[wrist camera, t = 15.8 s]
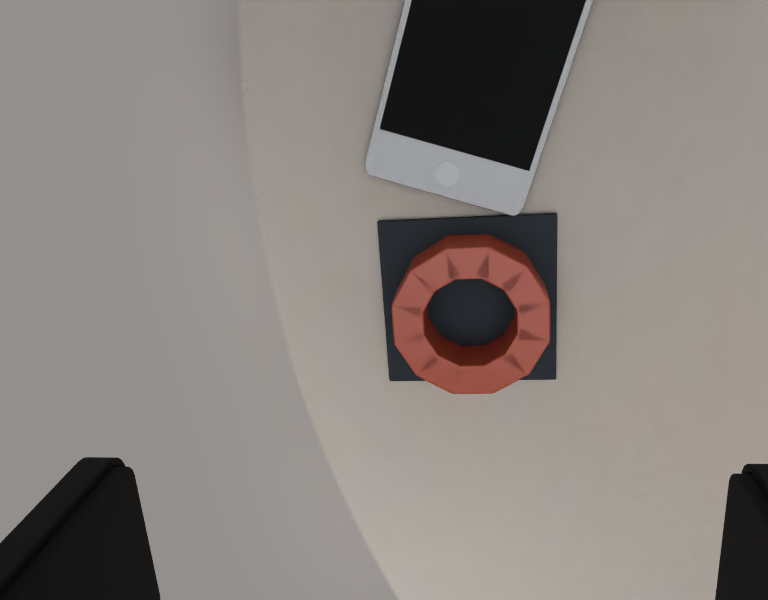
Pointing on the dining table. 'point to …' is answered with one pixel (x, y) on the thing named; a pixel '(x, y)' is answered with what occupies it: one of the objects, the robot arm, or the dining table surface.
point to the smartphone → (474, 96)
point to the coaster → (469, 282)
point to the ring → (471, 363)
